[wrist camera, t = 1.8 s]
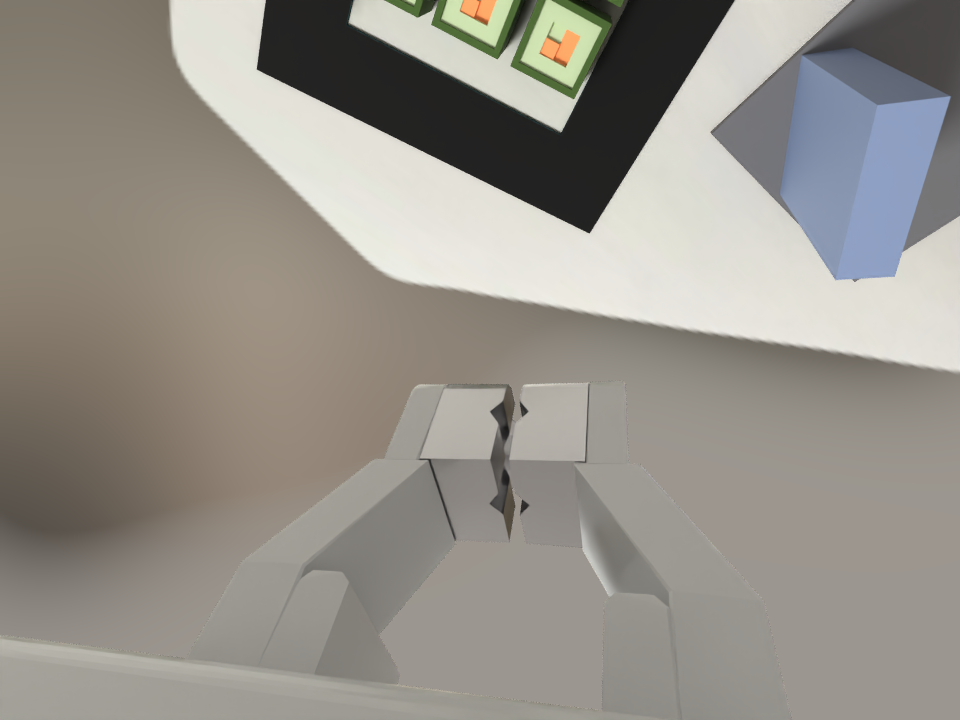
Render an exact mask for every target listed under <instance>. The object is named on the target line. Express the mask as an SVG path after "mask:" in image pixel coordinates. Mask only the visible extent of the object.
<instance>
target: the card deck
mask: <svg viewBox="0 0 960 720" xmlns="http://www.w3.org/2000/svg"><path fill="white" fill-rule="evenodd" d="M950 97H951V96H949V95H947V94H945V93H943V92H941V91H939V90H937V89H935V88H933V87H931V86H929V85H927V84H925V83H923V82H921V81H919V80H917V79H915V78H913V77H911V76H909V75H907V74H905V73H903V72H901V71H899V70H897V69H895V68H893V67H891V66H889V65H887V64H885V63H883V62H881V61H879V60H877V59H875V58H873V57H871V56H869V55H867V54H865V53H863V52H861V51H859V50H857V49H855V48H846V49H839V50H832V51H826V52H819V53H812V54H805V55H802V56H801V62H800V68H799V75H798V81H797V88H796V94H795V100H794V107H793V113H792V120H791V126H790V132H789V139H788V145H787V152H786V158H785V165H784V171H783V177H782V184H781V190H780V195H781V197H782V198H783V200H784V201H785V203H786V205H787V206H788V208H789V209H790V211H791V212H792V214H793V215H794V217H795V218H796V220H797V221H798V223H799V225H800V226H801V228H802V229H803V231H804V232H805V234H806V235H807V237H808V238H809V240H810V241H811V243H812V245H813V246H814V248H815V249H816V251H817V252H818V254H819V255H820V257H821V258H822V260H823V261H824V263H825V265H826V266H827V268H828V269H829V271H830V272H831V274H832V275H833V277H834V278H835V280H842V279H860V278H877V277H895V274H896V271H897V267H898V264H899V261H900V258H901V255H902V251H903V248H904V245H905V242H906V238H907V235H908V232H909V229H910V226H911V222H912V219H913V216H914V213H915V210H916V206H917V203H918V200H919V197H920V194H921V190H922V187H923V184H924V181H925V178H926V174H927V171H928V168H929V165H930V161H931V158H932V155H933V152H934V149H935V145H936V142H937V139H938V136H939V133H940V129H941V126H942V123H943V120H944V117H945V113H946V110H947V107H948V104H949V101H950Z"/></svg>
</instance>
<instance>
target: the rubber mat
mask: <svg viewBox="0 0 960 720" xmlns="http://www.w3.org/2000/svg"><path fill="white" fill-rule="evenodd" d="M846 48H855V49H857V50H859V51H861V52H863V53H865V54H867V55H869V56H871V57H873V58H875V59H877V60H879V61H881V62H883V63H885V64H887V65H889V66H891V67H893V68H895V69H897V70H899V71H901V72H903V73H905V74H907V75H909V76H911V77H913V78H915V79H917V80H919V81H921V82H923V83H925V84H927V85H929V86H931V87H933V88H935V89H937V90H939V91H941V92H943V93H945V94H947V95H949V96H951V97H950V101H949V104H948V107H947V110H946V113H945V117H944V120H943V123H942V126H941V129H940V133H939V136H938V139H937V142H936V145H935V149H934V152H933V155H932V158H931V161H930V165H929V168H928V171H927V174H926V178H925V181H924V184H923V187H922V190H921V194H920V197H919V200H918V203H917V206H916V210H915V213H914V216H913V219H912V222H911V226H910V229H909V232H908V235H907V238H906V242H905V245H904V248H903V251H905V250H906V249H908V248H909V247H911V246H913V245H914V244H916V243H917V242H919V241H921V240H922V239H924V238H925V237H927V236H928V235H930V234H932V233H933V232H935V231H936V230H938V229H940V228H941V227H943V226H944V225H946V224H947V223H949V222H951V221H952V220H954V219H955V218H957V217H958V216H960V0H852V1H851V2H850V3H849V4H848V5H847V6H846V7H845V8H843V9H842V10H841V11H840V12H839V13H838V14H837V15H836V16H835V17H834V18H833V19H832V20H831V21H830V22H828V23H827V24H826V25H825V26H824V27H823V28H822V29H821V30H820V31H819V32H818V33H817V34H816V35H814V36H813V37H812V38H811V39H810V40H809V41H808V42H807V43H806V44H805V45H804V46H803V47H802V48H800V49H799V50H798V51H797V52H796V53H795V54H794V55H793V56H792V57H791V58H790V59H789V60H788V61H787V62H785V63H784V64H783V65H782V66H781V67H780V68H779V69H778V70H777V71H776V72H775V73H774V74H773V75H771V76H770V77H769V78H768V79H767V80H766V81H765V82H764V83H763V84H762V85H761V86H760V87H759V88H757V89H756V90H755V91H754V92H753V93H752V94H751V95H750V96H749V97H748V98H747V99H746V100H745V101H744V102H742V103H741V104H740V105H739V106H738V107H737V108H736V109H735V110H734V111H733V112H732V113H731V114H730V115H728V116H727V117H726V118H725V119H724V120H723V121H722V122H721V123H720V124H719V125H718V126H717V127H716V128H714V129H713V130H712V131H711V134H712V135H713V136H714V137H715V138H716V139H717V140H718V141H719V142H720V143H721V144H722V145H723V146H724V147H725V148H726V149H727V150H728V151H729V153H730V154H731V155H732V156H733V157H734V158H735V159H736V160H737V161H738V162H739V163H740V164H741V165H742V166H743V167H744V168H745V169H746V170H747V171H748V172H749V173H750V174H751V175H752V176H753V177H754V178H755V179H756V180H757V181H758V182H759V183H760V185H761V186H762V187H763V188H764V189H765V190H766V191H767V192H768V193H769V194H770V195H771V196H772V197H773V198H774V199H775V200H776V201H777V202H778V203H779V204H780V205H781V206H782V207H783V208H784V209H785V210H786V211H787V212H788V213H789V214H790V216H791V217H792V218H793V219H794V220H795V221H796V222H797V223H798V221H797V220H796V218H795V217H794V215H793V214H792V212H791V211H790V209H789V208H788V206H787V205H786V203H785V201H784V200H783V198H782V197H781V195H780V190H781V184H782V177H783V171H784V165H785V158H786V152H787V145H788V139H789V132H790V126H791V120H792V113H793V107H794V100H795V94H796V88H797V81H798V75H799V68H800V62H801V56H802V55H805V54H812V53H819V52H826V51H832V50H839V49H846ZM798 224H799V223H798ZM903 251H902V252H903ZM852 280H853V281H854V282H856V281H857V280H859V279H852Z"/></svg>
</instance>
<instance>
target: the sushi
mask: <svg viewBox="0 0 960 720" xmlns="http://www.w3.org/2000/svg"><path fill="white" fill-rule="evenodd" d="M385 1H387V2H389V3H391V4H393V5H395V6H397V7H398V8H400V9H402V10H404V11H406V12H408V13H410V14H412V15H414V16H416V17H420V16H422V15H424V14H426V13H428V12H430V11H431V10H432V7H433V4H434V1H435V0H385ZM524 1H525V0H439V2H438V5H437V8H436V11H435V14H434V18H433V21H432V24H431V25H433V26H435V27H437V28H439V29H441V30H442V31H444V32H446V33H448V34H450V35H452V36H454V37H456V38H458V39H460V40H462V41H463V42H465V43H467V44H469V45H471V46H473V47H475V48H477V49H479V50H481V51H483V52H484V53H486V54H488V55H490V56H492V57H494V58H496V59H498V58H499V57H500V55H501V54H502V53H503V51H504V50H505V48H506V46H507V43H508V41H509V38H510V36H511V33H512V31H513V28H514V26H515V23H516V21H517V18H518V16H519V13H520V11H521V9H522V6H523V4H524ZM607 1H609V2H611V3H613V4H615V5H616V6H618V7H621V5H622V4H623V2H624V0H607ZM352 2H353V0H266V3H265V11H264V19H263V26H262V34H261V42H260V49H259V57H258V64H257V70H259V71H261V72H263V73H265V74H267V75H269V76H271V77H273V78H275V79H277V80H279V81H281V82H283V83H285V84H287V85H289V86H291V87H293V88H295V89H297V90H299V91H301V92H303V93H305V94H307V95H309V96H311V97H313V98H316V99H318V100H320V101H322V102H324V103H326V104H328V105H330V106H332V107H334V108H336V109H338V110H340V111H342V112H344V113H346V114H348V115H350V116H352V117H354V118H356V119H358V120H360V121H362V122H364V123H366V124H368V125H370V126H372V127H374V128H376V129H378V130H380V131H382V132H385V133H387V134H389V135H391V136H393V137H395V138H397V139H399V140H401V141H403V142H405V143H407V144H409V145H411V146H413V147H415V148H417V149H419V150H421V151H423V152H425V153H427V154H429V155H431V156H433V157H435V158H437V159H439V160H441V161H443V162H445V163H447V164H449V165H451V166H454V167H456V168H458V169H460V170H462V171H464V172H466V173H468V174H470V175H472V176H474V177H476V178H478V179H480V180H482V181H484V182H486V183H488V184H490V185H492V186H494V187H496V188H498V189H500V190H502V191H504V192H506V193H508V194H510V195H512V196H514V197H516V198H518V199H521V200H523V201H525V202H527V203H529V204H531V205H533V206H535V207H537V208H539V209H541V210H543V211H545V212H547V213H549V214H551V215H553V216H555V217H557V218H559V219H561V220H563V221H565V222H567V223H569V224H571V225H573V226H575V227H577V228H579V229H581V230H583V231H585V232H587V233H590V232H591V230H592V228H593V227H594V225H595V224H596V222H597V220H598V219H599V217H600V216H601V214H602V212H603V211H604V209H605V208H606V206H607V204H608V203H609V201H610V200H611V198H612V196H613V195H614V193H615V191H616V190H617V188H618V187H619V185H620V183H621V182H622V180H623V179H624V177H625V175H626V174H627V172H628V171H629V169H630V167H631V166H632V164H633V163H634V161H635V159H636V158H637V156H638V154H639V153H640V151H641V150H642V148H643V146H644V145H645V143H646V142H647V140H648V138H649V137H650V135H651V134H652V132H653V130H654V129H655V127H656V126H657V124H658V122H659V121H660V119H661V118H662V116H663V114H664V113H665V111H666V109H667V108H668V106H669V105H670V103H671V101H672V100H673V98H674V97H675V95H676V93H677V92H678V90H679V89H680V87H681V85H682V84H683V82H684V81H685V79H686V77H687V76H688V74H689V73H690V71H691V69H692V68H693V66H694V64H695V63H696V61H697V60H698V58H699V56H700V55H701V53H702V52H703V50H704V48H705V47H706V45H707V44H708V42H709V40H710V39H711V37H712V36H713V34H714V32H715V31H716V29H717V28H718V26H719V24H720V23H721V21H722V19H723V18H724V16H725V15H726V13H727V11H728V10H729V8H730V7H731V5H732V3H733V2H734V0H629V2H628V4H627V6H626V7H625V9H624V11H623V13H622V15H621V17H620V19H619V21H618V23H617V25H616V27H615V29H614V31H613V33H612V35H611V37H610V39H609V41H608V43H607V45H606V47H605V49H604V50H603V52H602V54H601V56H600V58H599V60H598V62H597V64H596V66H595V68H594V70H593V72H592V74H591V76H590V78H589V80H588V82H587V84H586V86H585V88H584V90H583V92H582V93H581V95H580V97H579V99H578V101H577V103H576V105H575V107H574V109H573V111H572V113H571V115H570V117H569V119H568V121H567V123H566V125H565V127H564V129H563V131H562V133H561V134H559V133H557V132H555V131H553V130H552V129H550V128H548V127H546V126H544V125H542V124H540V123H538V122H536V121H534V120H532V119H530V118H528V117H526V116H524V115H522V114H520V113H518V112H516V111H515V110H513V109H511V108H509V107H507V106H505V105H503V104H501V103H499V102H497V101H495V100H493V99H491V98H489V97H487V96H485V95H483V94H481V93H479V92H478V91H476V90H474V89H472V88H470V87H468V86H466V85H464V84H462V83H460V82H458V81H456V80H454V79H452V78H450V77H448V76H446V75H444V74H442V73H441V72H439V71H437V70H435V69H433V68H431V67H429V66H427V65H425V64H423V63H421V62H419V61H417V60H415V59H413V58H411V57H409V56H407V55H406V54H404V53H402V52H400V51H398V50H396V49H394V48H392V47H390V46H388V45H386V44H384V43H382V42H380V41H378V40H376V39H374V38H372V37H370V36H369V35H367V34H365V33H363V32H361V31H359V30H357V29H355V28H353V27H351V26H349V25H348V20H349V16H350V11H351V7H352ZM611 25H612V18H611V16H609V15H607V14H605V13H604V12H602V11H600V10H598V9H596V8H595V7H593V6H591V5H589V4H587V3H585V2H584V1H582V0H538V1H537V3H536V5H535V8H534V10H533V13H532V15H531V17H530V20H529V22H528V25H527V27H526V30H525V32H524V34H523V37H522V39H521V42H520V44H519V46H518V49H517V51H516V54H515V56H514V58H513V61H512V63H511V67H513V68H515V69H517V70H519V71H521V72H523V73H525V74H526V75H528V76H530V77H532V78H534V79H536V80H538V81H540V82H542V83H544V84H546V85H547V86H549V87H551V88H553V89H555V90H557V91H559V92H561V93H563V94H565V95H567V96H568V97H570V98H572V99H574V98H575V96H576V94H577V92H578V90H579V88H580V86H581V84H582V83H583V81H584V79H585V77H586V75H587V73H588V71H589V69H590V67H591V65H592V63H593V61H594V59H595V57H596V55H597V53H598V51H599V49H600V47H601V45H602V43H603V41H604V39H605V37H606V35H607V33H608V31H609V29H610V27H611Z"/></svg>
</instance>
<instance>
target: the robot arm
mask: <svg viewBox="0 0 960 720" xmlns="http://www.w3.org/2000/svg"><path fill="white" fill-rule="evenodd" d="M514 407H515V401H514V396H513V391H512V388H511V387H510V385H507V384H504V385H503V384H501V385H500V384H448V385H428V384H427V385H426V384H425V385H424V384H420V385H417V386H416V387H415V388H414V389H413V390H412V392H411V394H410V397H409V399H408V401H407V404H406V406H405V409H404V411H403V413H402V416H401V418H400V421H399V423H398V425H397V428H396V430H395V433H394V435H393V437H392V440H391V442H390V444H389V447H388V449H387V451H386V454H385V456H384V459H374V460H373V461H371V462H370V463H369V464H367V465H366V466H365V467H363V468H362V469H361V470H360V471H358V472H357V473H356V474H354V475H353V476H352V477H350V478H349V479H348V480H347V481H345V482H344V483H343V484H341V485H340V486H339V487H337V488H336V489H335V490H334V491H332V492H331V493H330V494H328V495H327V496H326V497H325V498H323V499H322V500H321V501H319V502H318V503H317V504H315V505H314V506H313V507H312V508H310V509H309V510H308V511H306V512H305V513H304V514H302V515H301V516H300V517H299V518H297V519H296V520H295V521H293V522H292V523H291V524H290V525H288V526H287V527H286V528H284V529H283V530H282V531H280V532H279V533H278V534H276V535H275V536H274V537H273V538H271V539H270V540H269V541H268V542H266V543H265V544H264V545H262V546H261V547H260V548H258V549H257V550H256V551H255V552H253V553H252V554H251V555H249V556H248V557H247V558H246V559H244V560H243V561H242V562H241V563H240V565H239V567H238V568H237V570H236V572H235V574H234V576H233V577H232V579H231V581H230V582H229V584H228V586H227V588H226V589H225V591H224V593H223V595H222V596H221V598H220V600H219V602H218V604H217V605H216V607H215V609H214V610H213V612H212V614H211V615H210V617H209V619H208V621H207V623H206V624H205V626H204V628H203V629H202V631H201V633H200V635H199V636H198V638H197V640H196V641H195V643H194V645H193V647H192V648H191V650H190V652H189V654H188V656H187V657H186V658H180V657H172V656H164V655H156V654H148V653H141V652H133V651H124V650H117V649H109V648H100V647H93V646H85V645H77V644H69V643H60V642H53V641H45V640H37V639H29V638H21V637H13V636H5V635H0V720H792V717H791V713H790V709H789V705H788V701H787V696H786V692H785V688H784V683H783V679H782V675H781V670H780V666H779V662H778V658H777V654H776V650H775V645H774V641H773V636H772V632H771V628H770V624H769V619H768V615H767V611H766V607H765V602H764V600H763V599H762V598H761V597H760V596H759V595H758V594H757V592H756V591H755V590H754V589H753V588H752V587H751V586H750V585H749V584H748V583H747V581H746V580H745V579H744V578H743V577H742V576H741V575H740V574H739V573H738V571H737V570H736V569H735V568H734V567H733V566H732V565H731V564H730V563H729V562H728V560H727V559H726V558H725V557H724V556H723V555H722V554H721V553H720V552H719V550H718V549H717V548H716V547H715V546H714V545H713V544H712V543H711V542H710V541H709V539H708V538H707V537H706V536H705V535H704V534H703V533H702V532H701V531H700V530H699V528H698V527H697V526H696V525H695V524H694V523H693V522H692V521H691V520H690V518H688V516H687V515H686V514H685V513H684V512H683V511H682V510H681V509H680V507H679V506H678V505H677V504H676V503H675V502H674V501H673V500H672V499H671V498H670V497H669V495H668V494H667V493H666V492H665V491H664V490H663V489H662V488H661V487H660V485H659V484H658V483H657V482H656V481H655V480H654V479H653V478H652V477H651V475H649V473H648V472H647V471H646V470H645V469H644V468H643V467H642V466H641V464H629V450H628V426H627V403H626V385H625V383H624V382H623V381H608V382H590V383H569V384H568V383H566V384H564V383H563V384H526V385H524V386H523V387H522V391H521V396H520V407H521V413H522V418H521V419H520V420H519V421H518V422H515V421H514V420H513V413H514ZM513 488H515V493H516V494H517V495H518V496H519V497H520V498H522V505H521V512H520V517H521V521H522V526H523V531H524V535H525V540H526V543H528V544H540V545H553V546H565V547H578V548H583V552H584V553H585V555H586V557H587V558H588V560H589V562H590V564H591V566H592V567H593V569H594V571H595V572H596V574H597V576H598V578H599V580H600V581H601V583H602V585H603V586H604V588H605V590H606V592H607V593H608V595H609V598H608V599H607V600H606V601H605V602H604V628H603V680H602V711H601V710H593V709H585V708H577V707H569V706H560V705H553V704H545V703H537V702H529V701H521V700H514V699H506V698H498V697H490V696H481V695H474V694H466V693H458V692H450V691H442V690H434V689H426V688H419V687H410V686H403V685H397V684H398V680H399V677H400V672H399V671H398V668H397V666H396V664H395V663H394V661H393V659H392V657H391V655H390V654H389V652H388V650H387V649H386V647H385V645H384V643H383V641H382V639H381V638H380V636H379V634H380V633H381V632H382V631H383V629H385V627H386V626H387V625H388V624H389V622H390V621H391V620H392V619H393V618H394V617H395V615H396V614H397V613H398V612H399V610H401V608H402V607H403V606H404V605H405V603H406V602H407V601H408V600H409V599H410V598H411V597H412V595H413V594H414V593H415V592H416V591H417V589H418V588H419V587H420V586H421V585H422V583H423V582H424V581H425V580H426V579H427V578H428V576H429V575H430V574H431V573H432V572H433V570H434V569H435V568H436V567H437V566H438V564H439V563H440V562H441V561H442V560H443V559H444V557H445V556H446V555H447V554H448V553H449V551H450V550H451V549H452V548H453V547H454V545H455V541H478V542H510V536H511V530H512V524H513V517H514V511H515V501H514V496H513V491H512V489H513Z"/></svg>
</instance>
